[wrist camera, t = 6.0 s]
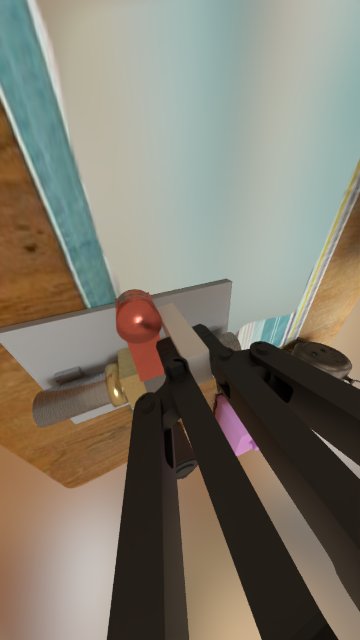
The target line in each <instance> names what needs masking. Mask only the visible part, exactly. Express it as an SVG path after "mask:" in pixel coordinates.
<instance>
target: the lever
mask: <svg viewBox="0 0 360 640" xmlns="http://www.w3.org/2000/svg"><path fill="white" fill-rule="evenodd" d="M115 309H116V329H117V332H118V334H119V336H120V337H121V338H122V339H123V340H125V341H126V342H127V344H128V347H129V349H130V352H131V355H132V358H133V361H134V364H135V367H136V370H137V373H138V375H139V378H140V381H141V382H144V385H145V388H146V391H147V392H154V393H155V392H156V391H157V390H158V389H159V388H160V387H161V386H162V385H163V383H164V382H165V379H166V377H165V373H164V368H163V365H162V363H161V360H160V357H159V354H158V351H157V349H156V344H157V341H159V340H160V335H159V332H160V330H161V327H162V318H161V316H160V314H159V312H158V310H157V308H156V306H155V304H154V302H153V300H152V298H151V296H150V294H149V293H145V292H144V291H141V290H136V289H135V290H128V291H126V292H124V293H122V294H121V295H120V296H119V298H118V299H115Z"/></svg>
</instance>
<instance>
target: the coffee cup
mask: <svg viewBox="0 0 360 640" xmlns="http://www.w3.org/2000/svg"><path fill="white" fill-rule="evenodd" d="M173 435H174V448H175V462H176V475H177V479H181V478H182V479H183V478H185V477H187V475H188V474H190V473H191V472H192V471H193V470H194V469H195V468H196V467H197V465H198V463H197V460H196V457H195V454H194V452H193V449H192V447H191V445H190V443H189V441H188V439H187V437H186V434H185V432H184V430H183V428H182V426H181V424H180V422H176V423H175V424H174V425H173Z"/></svg>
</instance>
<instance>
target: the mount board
mask: <svg viewBox="0 0 360 640" xmlns="http://www.w3.org/2000/svg"><path fill="white" fill-rule="evenodd" d="M231 288H232V281H230V280H228V279H224V280H219V281H215V282H209V283H205V284H200V285H195V286H191V287H186V288H182V289H177V290H173V291H168V292H163V293H158V294H154V295H150V296H151V298H152V300H153V302H154V304H155V306H156V308H159V307H161V306H164V305H167V304H170V303H173V304H174V306H175V307H176V308H177V309H178V311H179V312H180V313H181V314H182V316H183V317H184V318H185V320H186V321H187V322H188V323H189V325H190V326H191V327H193V326H195V325H198V324H202V325H205V326H206V327H207V328H209V327H212V326H217V327H218V328H219V331H218V335H221V334H224V333H227V328H228V318H229V308H230V298H231ZM159 335H160V338H163V337H166V335H165V333H164V330H163V327H161V330H160V332H159ZM0 342H1V344H2V345H3V346H4V347H5V348H6V349H7V350H8V351H9V352H10V353H11V354H12V356H13V357H14V358H15V359H16V360H17V361H18V362H19V363H20V364H21V365H22V366H23V368H24V369H25V370H26V371H27V372H28V373H29V374H30V375H31V376H32V377H33V379H34V380H35V381H36V382H37V383H38V384H39V385H40V386H41V387H42V388H43V389H44V390H46V389H49V388H52V387H55V386H58V385H59V384H58V383H57V382H56V381H55V379H54V375H55V373H57V372H60V371H63V370H67V369H70V368H74V367H77V366H80V368H81V369H82V371H83V373H84V374H85V376H86V377H87V376H90V375H93V374H97V373H100V372H103V371H105V368H106V365H109V364H112V363H115V362H118V350H122V349H125V348H129V347H128V344H127V342H126V341H125V340H123V339H122V338H121V337H120V336H119V334H118V332H117V329H116V309H115V303H112V304H108V305H103V306H98V307H94V308H89V309H84V310H80V311H75V312H71V313H66V314H61V315H57V316H52V317H47V318H43V319H38V320H34V321H29V322H24V323H20V324H15V325H10V326H6V327H1V328H0ZM128 404H130V403H129V402H128V403H126V404H124V405H121V406H118V407H116V408H115V407H113V405H112V404H108V405H105V406H102V407H100V408H97V409H94V410H91V411H89V412H86V413H83V414H81V415H78V416H75V417H72V418H70V419H71V420H72V421H73V422H74V423H75V424H78V423H80V422H83V421H86V420H88V419H91V418H94V417H96V416H99V415H102V414H104V413H107V412H110V411H112V410H115V409H118V408H120V407H123V406H126V405H128Z"/></svg>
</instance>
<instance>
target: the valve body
mask: <svg viewBox="0 0 360 640" xmlns="http://www.w3.org/2000/svg"><path fill="white" fill-rule="evenodd" d="M208 329H209V330H210V331H211V332H212V333H213V334H214V335H215V336H216V337H217V339H218V340H219V341H220V342H221V343H222V344H223V345H224V346H225V347H228V348H231V349H233V350H235V351H238V350H241V346H240V343H239V341H238V339H237V337H236V336H235V335H234V334H233V333H231V332H227V333H224V334H221V335H218V331H219V328H218V327H217V326H212V327H209V328H208ZM164 338H167V337H163V338H160V340H162V339H164ZM165 377H166V375H165ZM54 379H55V381H56V382H57V383H58V384H59V385H58V386H55V387H52V388H49V389H46V390H42V391H40V392H39V393H38V394H37V395H36V397H35V399H34V402H33V408H32V412H33V418H34V421H35V422H36V424H37V425H38V426H39V427H42V428H45V427H48V426H50V425H53V424H56V423H59V422H61V421H64V420H67V419H70V418H72V417H75V416H78V415H81V414H83V413H86V412H89V411H91V410H94V409H97V408H100V407H102V406H105V405H108V404H112V405H113V407H115V408H116V407H118V406H121V405H124V404H126V403H128V402H129V403H130V405H131V407H132V408H134V406H135V403H136V401H137V400H138V398H139V397H140V396H142V395H143V394H145V393H147V391H146V388H145V385H144V382H141V381H140V378H139V375H138V373H137V370H136V367H135V364H134V361H133V358H132V355H131V352H130V349H129V348H125V349H122V350H118V362H115V363H112V364H109V365H106V368H105V371H103V372H100V373H97V374H93V375H90V376H87V377H86V376H85V374H84V373H83V371H82V369H81V368H80V366H77V367H74V368H70V369H67V370H63V371H60V372H57V373H55V375H54Z"/></svg>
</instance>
